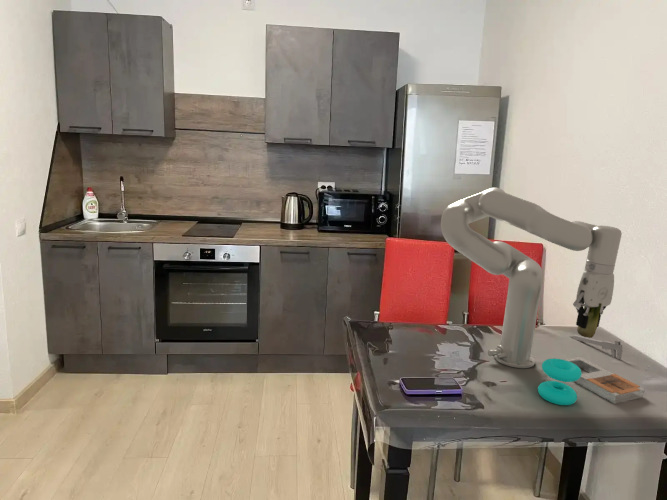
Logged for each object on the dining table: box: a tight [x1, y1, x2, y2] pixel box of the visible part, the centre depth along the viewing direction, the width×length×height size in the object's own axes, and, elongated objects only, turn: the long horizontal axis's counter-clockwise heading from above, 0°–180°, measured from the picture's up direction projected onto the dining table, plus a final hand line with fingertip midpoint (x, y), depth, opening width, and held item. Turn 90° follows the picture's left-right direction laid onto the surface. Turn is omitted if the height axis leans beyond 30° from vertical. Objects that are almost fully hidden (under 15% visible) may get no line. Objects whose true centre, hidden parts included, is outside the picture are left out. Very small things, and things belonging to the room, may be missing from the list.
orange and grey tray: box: [563, 356, 646, 405], centre depth 150 cm, size 12×22×3 cm, turn 24°
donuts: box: [537, 357, 583, 406], centre depth 138 cm, size 10×10×10 cm
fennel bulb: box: [576, 303, 602, 339], centre depth 151 cm, size 6×5×12 cm
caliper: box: [569, 334, 623, 360], centre depth 177 cm, size 20×1×6 cm, turn 23°
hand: (587, 325), depth 152 cm, fingers closed on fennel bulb, 4 cm apart
